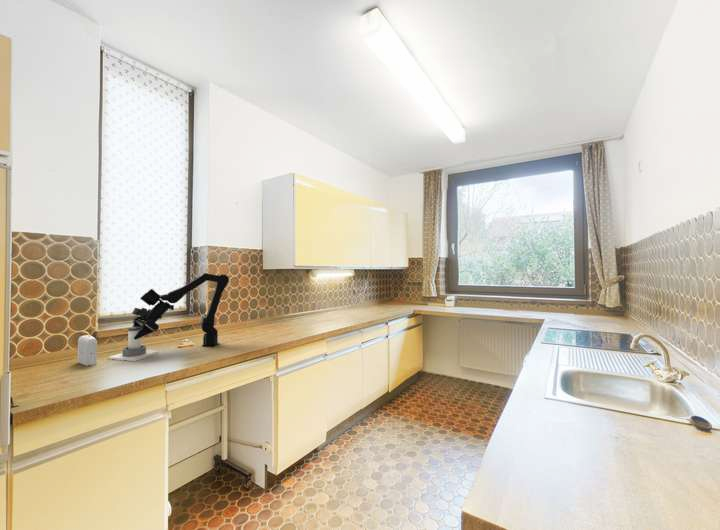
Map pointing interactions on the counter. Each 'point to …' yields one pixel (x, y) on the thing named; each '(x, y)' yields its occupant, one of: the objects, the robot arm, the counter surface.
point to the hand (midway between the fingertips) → (131, 337)
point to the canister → (131, 341)
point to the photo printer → (87, 350)
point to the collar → (133, 354)
